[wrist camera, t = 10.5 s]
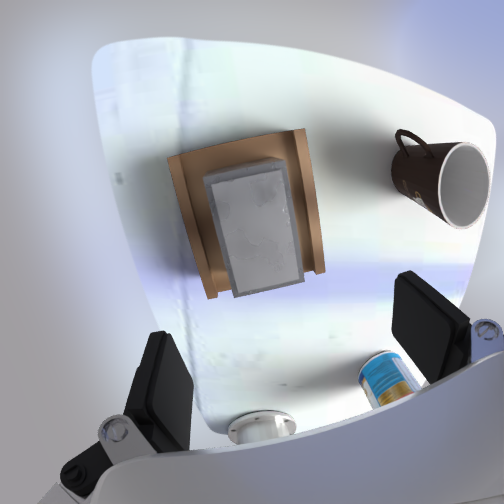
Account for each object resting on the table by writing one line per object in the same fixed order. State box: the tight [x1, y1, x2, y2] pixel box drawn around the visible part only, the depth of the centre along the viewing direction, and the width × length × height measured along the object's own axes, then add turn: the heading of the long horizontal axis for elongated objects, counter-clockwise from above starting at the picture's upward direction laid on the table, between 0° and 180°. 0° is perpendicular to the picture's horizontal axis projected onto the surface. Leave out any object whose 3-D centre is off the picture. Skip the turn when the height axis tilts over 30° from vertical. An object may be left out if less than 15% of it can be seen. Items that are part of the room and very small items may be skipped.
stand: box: [167, 128, 325, 299], centre depth 27 cm, size 14×12×5 cm
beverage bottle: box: [358, 351, 422, 410], centre depth 32 cm, size 8×8×20 cm
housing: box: [203, 157, 305, 298], centre depth 23 cm, size 6×10×5 cm, turn 12°
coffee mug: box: [391, 129, 490, 229], centre depth 24 cm, size 12×9×10 cm
